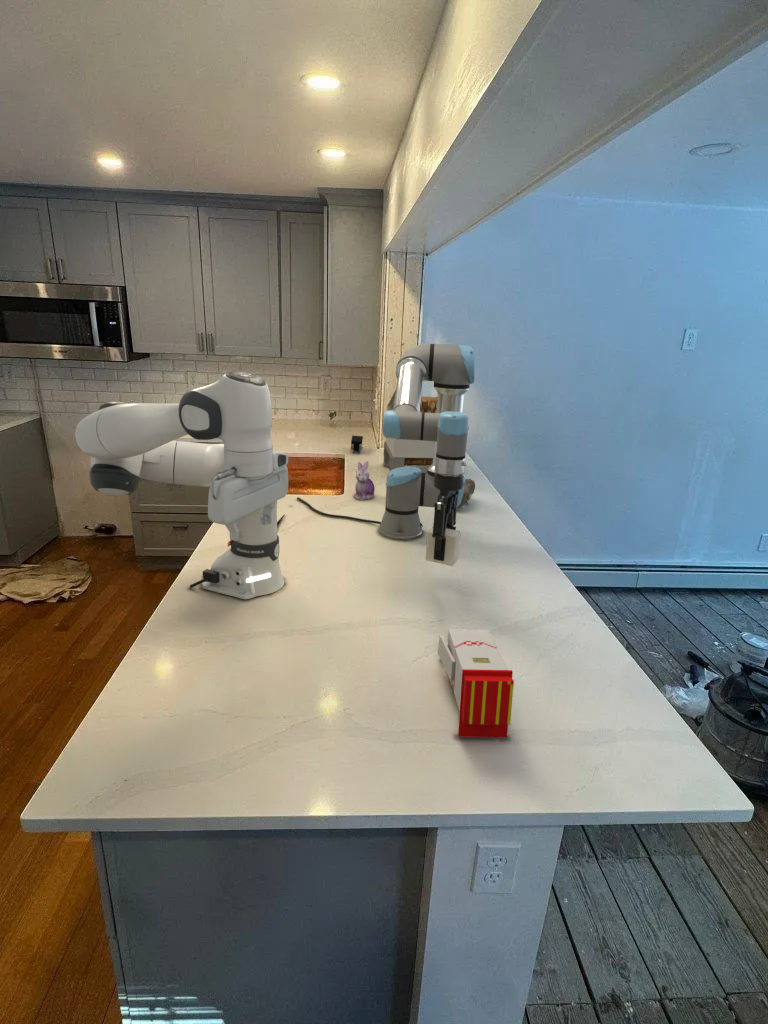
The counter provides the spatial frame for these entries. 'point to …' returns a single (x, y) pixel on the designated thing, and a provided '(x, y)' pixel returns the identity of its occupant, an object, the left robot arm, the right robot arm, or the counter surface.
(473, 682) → the toy
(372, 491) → the figurine
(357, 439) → the figurine character
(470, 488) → the fossil
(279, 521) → the feather
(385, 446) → the slatted wooden crate
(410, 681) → the counter surface
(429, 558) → the block
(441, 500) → the right robot arm
